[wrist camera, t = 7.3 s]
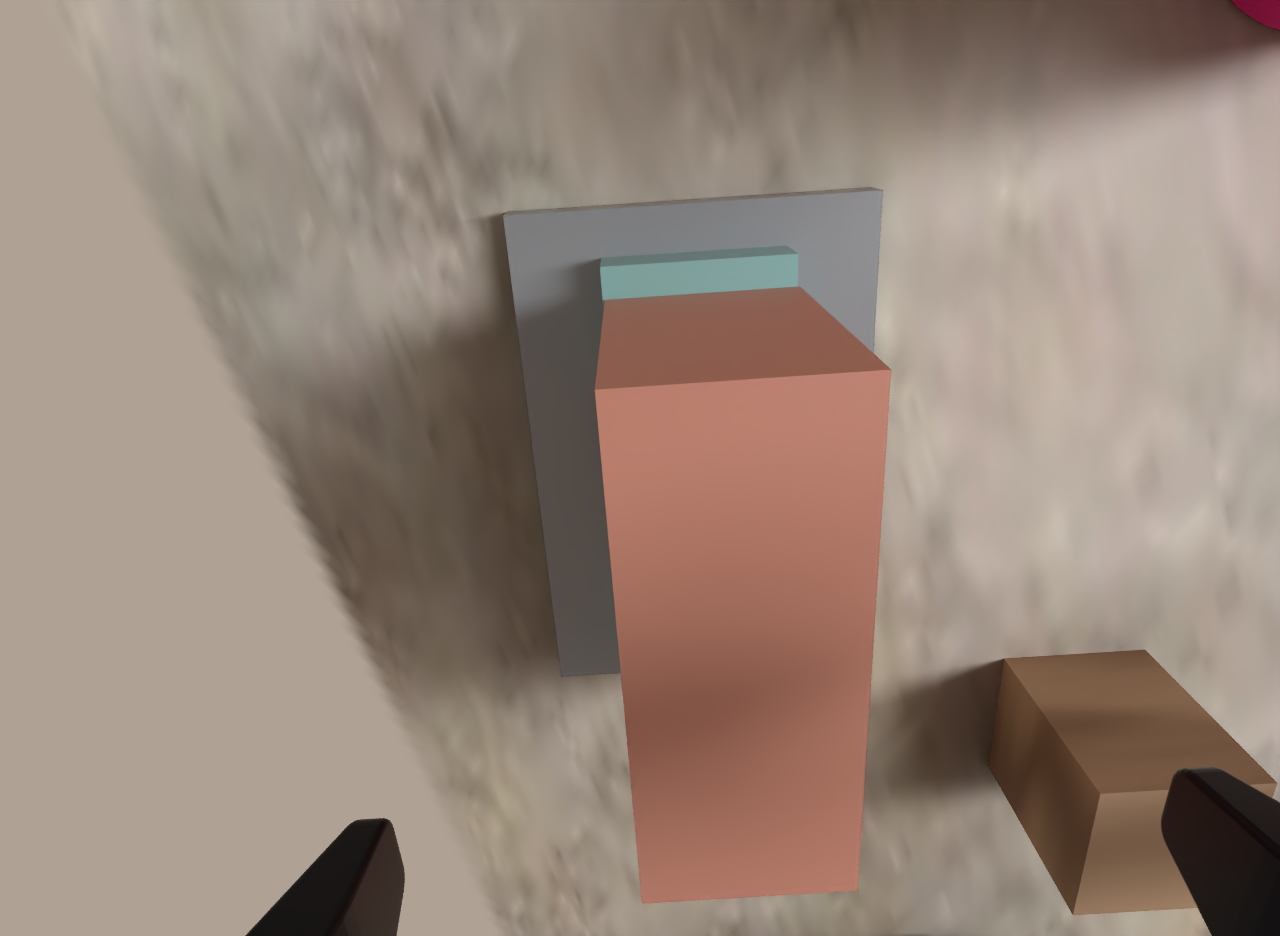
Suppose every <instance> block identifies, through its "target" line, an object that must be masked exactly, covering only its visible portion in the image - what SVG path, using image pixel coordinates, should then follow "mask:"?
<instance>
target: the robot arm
mask: <svg viewBox="0 0 1280 936" xmlns="http://www.w3.org/2000/svg"><path fill="white" fill-rule="evenodd" d="M1161 831H1162V835H1163V838H1164V841H1165V844H1166V846H1167V848H1168V850H1169V852H1170V854H1171V856H1172V858H1173V860H1174V862H1175V864H1176V866H1177V868H1178V870H1179V872H1180V874H1181V876H1182V878H1183V880H1184V882H1185V884H1186V886H1187V887H1188V889H1189V891H1190V893H1191V895H1192V897H1193V899H1194V901H1195V903H1196V905H1197V907H1198V909H1199V911H1200V913H1201V915H1202V917H1203V919H1204V921H1205V923H1206V925H1207V927H1208V929H1209V931H1210V933H1211V935H1212V936H1280V802H1278V801H1277V800H1275V799H1273V798H1271V797H1270V796H1268V795H1266V794H1264V793H1263V792H1261V791H1259V790H1257V789H1256V788H1254V787H1252V786H1250V785H1249V784H1247V783H1245V782H1243V781H1242V780H1240V779H1238V778H1236V777H1235V776H1233V775H1231V774H1229V773H1228V772H1226V771H1224V770H1222V769H1219V768H1217V767H1193V768H1182V769H1179V770H1178V771H1177V772H1176V773H1175V774H1174V775H1173V777H1172V780H1171V784H1170V788H1169V791H1168V795H1167V798H1166V802H1165V806H1164V809H1163V813H1162V816H1161ZM404 877H405V875H404V866H403V862H402V858H401V854H400V851H399V847H398V843H397V839H396V835H395V831H394V828H393V825H392V823H391V822H390V820H388V819H385V818H379V819H363V820H356V821H354V822H353V823H351V824H349V825H348V826H347V827H346V828H345V829H344V831H343V832H342V833H341V834H340V835H339V836H338V837H337V838H336V839H335V840H334V841H333V842H332V843H331V844H330V846H329V847H328V848H327V849H326V850H325V851H324V852H323V853H322V854H321V855H320V856H319V857H318V858H317V859H316V861H315V862H314V863H313V864H312V865H311V866H310V867H309V868H308V869H307V870H306V871H305V872H304V873H303V875H302V876H301V877H300V878H299V879H298V880H297V881H296V882H295V883H294V884H293V885H292V886H291V888H290V889H289V890H288V891H287V892H286V893H285V894H284V895H283V896H282V897H281V898H280V899H279V900H278V902H276V904H275V905H274V906H273V907H272V908H271V909H270V910H269V911H268V912H267V913H266V914H265V915H264V917H262V919H261V920H260V921H259V922H258V923H257V924H256V925H255V926H254V927H253V928H252V929H251V930H250V931H249V933H248V934H247V935H246V936H396V935H397V929H398V923H399V916H400V911H401V904H402V898H403V892H404V883H405V878H404Z"/></svg>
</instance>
